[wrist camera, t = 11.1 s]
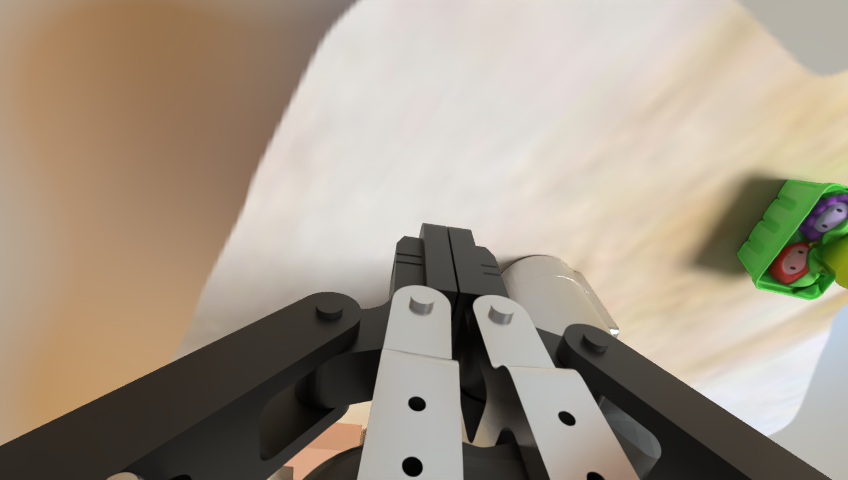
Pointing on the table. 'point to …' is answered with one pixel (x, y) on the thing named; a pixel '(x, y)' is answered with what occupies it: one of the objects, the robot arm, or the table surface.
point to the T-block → (325, 448)
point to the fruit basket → (800, 241)
